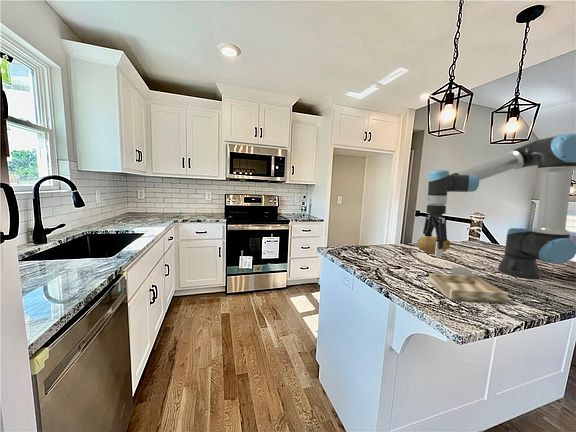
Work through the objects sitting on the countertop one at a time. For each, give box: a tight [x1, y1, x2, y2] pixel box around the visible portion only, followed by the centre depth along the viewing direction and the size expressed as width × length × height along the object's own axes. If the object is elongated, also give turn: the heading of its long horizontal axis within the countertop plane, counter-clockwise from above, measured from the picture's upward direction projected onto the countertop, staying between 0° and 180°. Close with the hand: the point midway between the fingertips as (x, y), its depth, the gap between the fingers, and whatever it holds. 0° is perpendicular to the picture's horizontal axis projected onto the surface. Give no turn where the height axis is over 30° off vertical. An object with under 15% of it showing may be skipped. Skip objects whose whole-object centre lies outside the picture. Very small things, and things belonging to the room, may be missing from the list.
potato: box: [417, 236, 451, 255], centre depth 113 cm, size 10×14×8 cm
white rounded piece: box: [450, 266, 473, 276], centre depth 114 cm, size 8×8×4 cm
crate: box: [428, 273, 509, 305], centre depth 99 cm, size 19×17×4 cm
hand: (432, 252), depth 114 cm, fingers closed on potato, 10 cm apart
